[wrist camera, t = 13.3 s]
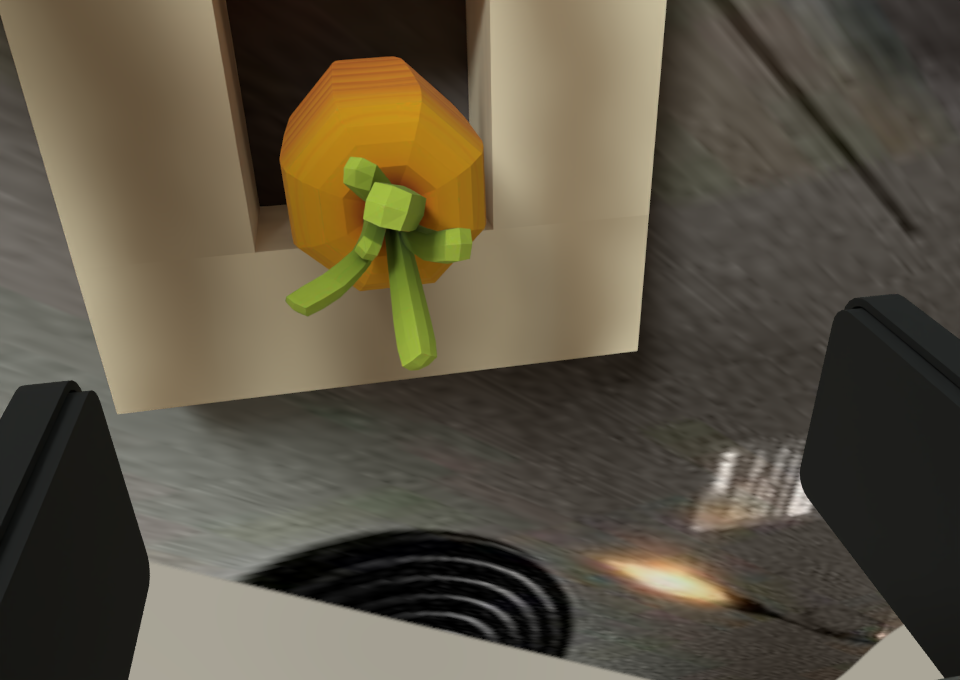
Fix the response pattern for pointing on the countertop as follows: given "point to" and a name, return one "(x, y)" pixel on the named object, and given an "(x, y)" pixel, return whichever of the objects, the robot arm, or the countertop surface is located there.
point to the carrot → (382, 191)
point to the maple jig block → (266, 230)
